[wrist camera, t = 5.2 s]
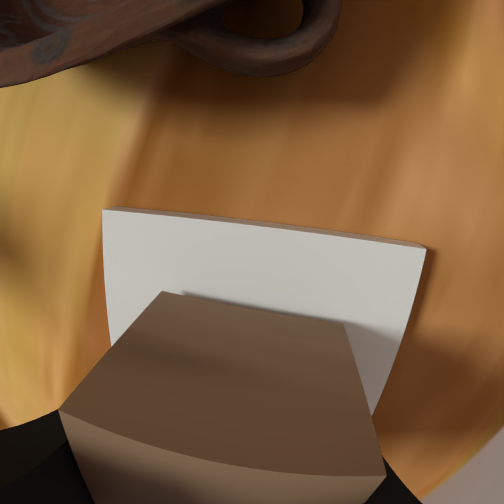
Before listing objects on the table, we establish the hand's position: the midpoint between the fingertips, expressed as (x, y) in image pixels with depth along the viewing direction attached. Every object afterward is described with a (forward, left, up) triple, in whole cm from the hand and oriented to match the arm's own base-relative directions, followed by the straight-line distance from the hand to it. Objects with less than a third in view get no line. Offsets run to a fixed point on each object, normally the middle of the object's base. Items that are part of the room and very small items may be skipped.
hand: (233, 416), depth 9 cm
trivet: (0, 0, -3) cm, 3 cm away
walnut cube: (0, 0, -2) cm, 2 cm away
